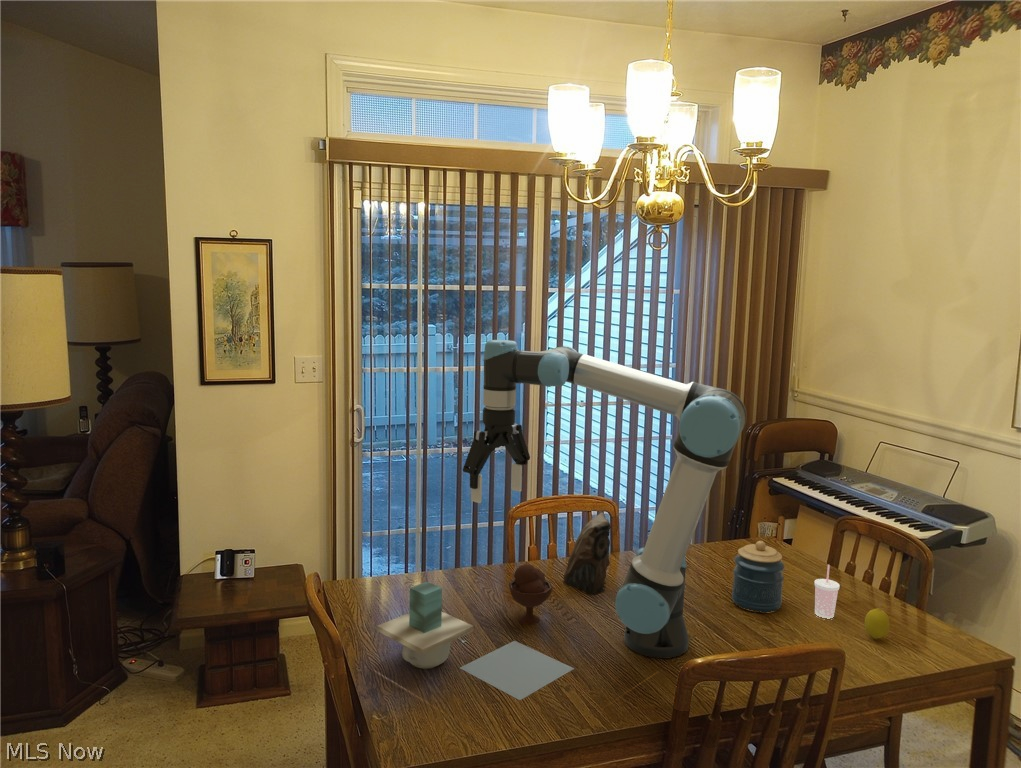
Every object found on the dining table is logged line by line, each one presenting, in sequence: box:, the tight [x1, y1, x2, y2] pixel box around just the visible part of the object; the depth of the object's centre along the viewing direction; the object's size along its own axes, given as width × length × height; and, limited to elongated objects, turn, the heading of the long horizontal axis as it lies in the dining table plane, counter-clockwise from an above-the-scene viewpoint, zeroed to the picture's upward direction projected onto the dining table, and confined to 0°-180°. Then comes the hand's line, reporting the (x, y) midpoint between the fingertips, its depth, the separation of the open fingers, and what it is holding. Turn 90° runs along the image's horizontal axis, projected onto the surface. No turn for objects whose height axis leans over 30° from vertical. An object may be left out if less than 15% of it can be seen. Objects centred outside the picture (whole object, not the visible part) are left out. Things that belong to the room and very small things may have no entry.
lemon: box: [864, 607, 891, 640], centre depth 186 cm, size 6×6×8 cm
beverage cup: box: [813, 564, 840, 619], centre depth 198 cm, size 6×6×14 cm
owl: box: [562, 511, 612, 596], centre depth 213 cm, size 13×13×20 cm
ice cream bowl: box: [508, 563, 553, 625], centre depth 191 cm, size 11×11×15 cm
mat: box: [459, 640, 575, 701], centre depth 168 cm, size 18×18×1 cm
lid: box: [376, 581, 474, 655], centre depth 167 cm, size 15×15×10 cm
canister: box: [731, 540, 786, 612], centre depth 204 cm, size 13×13×18 cm
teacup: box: [401, 641, 452, 669], centre depth 168 cm, size 14×11×8 cm
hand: (496, 496), depth 179 cm, fingers open, 13 cm apart
